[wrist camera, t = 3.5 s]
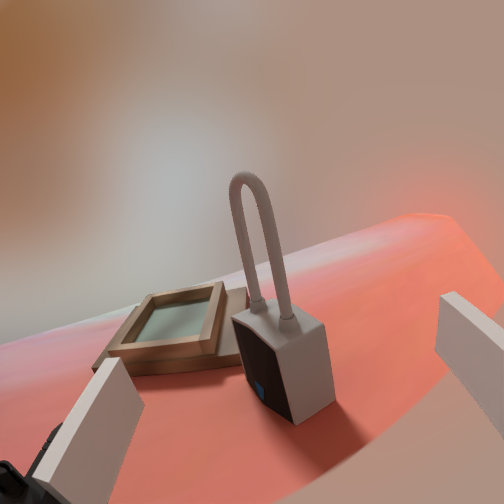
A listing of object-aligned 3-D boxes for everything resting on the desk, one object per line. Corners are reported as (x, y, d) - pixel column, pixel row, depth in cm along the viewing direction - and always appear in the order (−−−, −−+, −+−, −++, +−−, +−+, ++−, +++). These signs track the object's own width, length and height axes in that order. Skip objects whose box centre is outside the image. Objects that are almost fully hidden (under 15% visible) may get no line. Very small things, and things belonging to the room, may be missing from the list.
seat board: (96, 377, 25) (84, 355, 24) (138, 314, 38) (132, 296, 38) (246, 363, 24) (239, 337, 23) (248, 295, 38) (243, 275, 37)
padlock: (240, 380, 22) (187, 183, 18) (285, 357, 24) (246, 169, 20) (290, 429, 16) (234, 173, 12) (340, 396, 18) (311, 158, 14)
